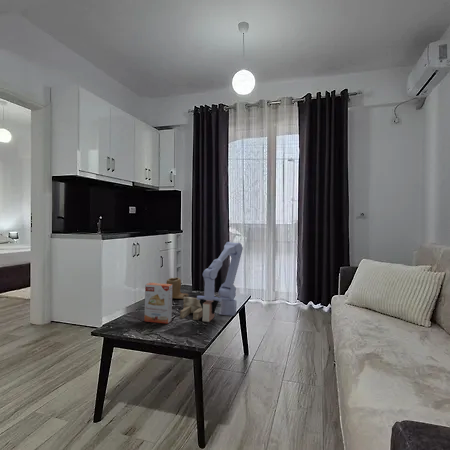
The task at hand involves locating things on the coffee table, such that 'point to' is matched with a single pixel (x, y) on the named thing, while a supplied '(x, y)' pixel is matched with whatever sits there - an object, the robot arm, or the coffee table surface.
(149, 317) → the cracker box
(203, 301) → the robot arm
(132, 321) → the coffee table surface
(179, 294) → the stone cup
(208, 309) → the book
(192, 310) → the book rack
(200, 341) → the coffee table surface
